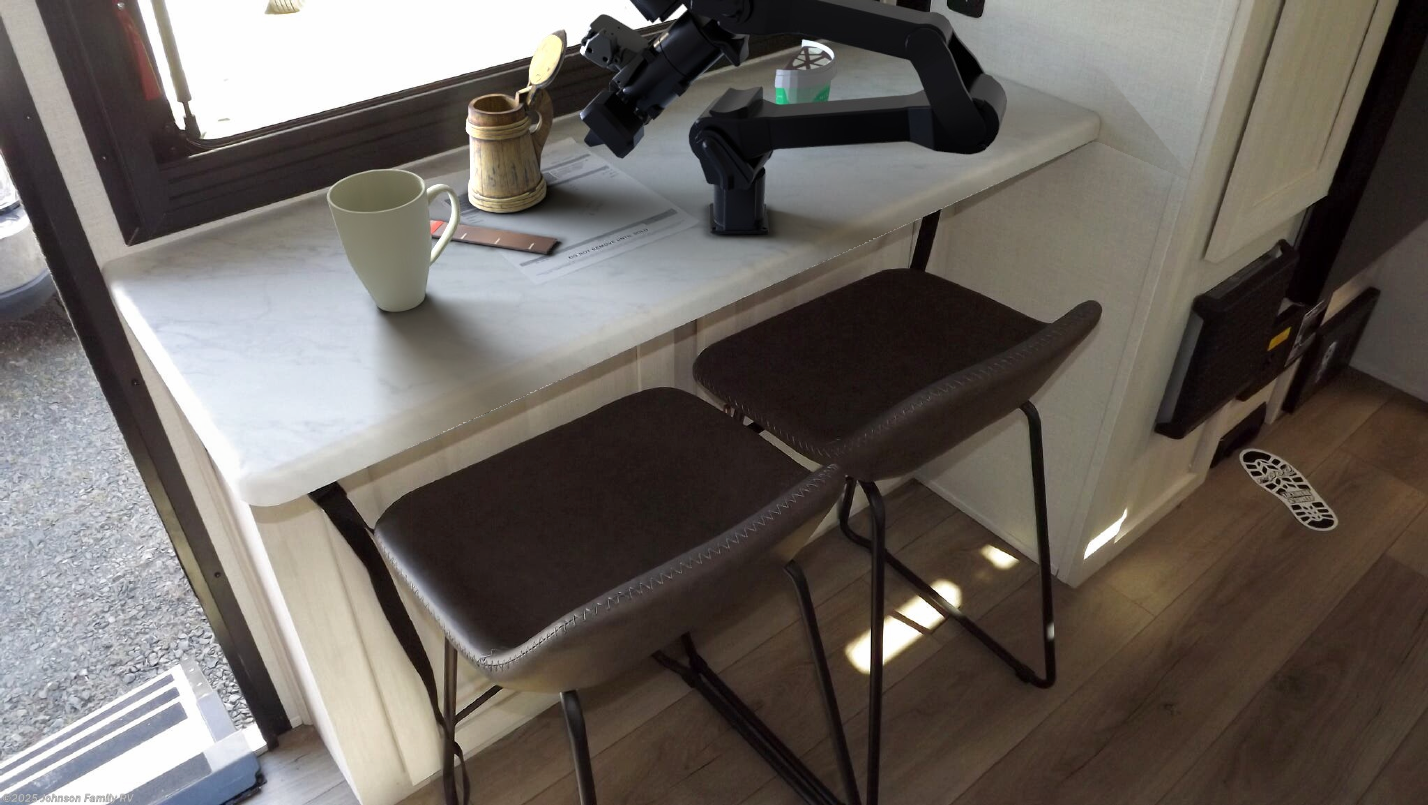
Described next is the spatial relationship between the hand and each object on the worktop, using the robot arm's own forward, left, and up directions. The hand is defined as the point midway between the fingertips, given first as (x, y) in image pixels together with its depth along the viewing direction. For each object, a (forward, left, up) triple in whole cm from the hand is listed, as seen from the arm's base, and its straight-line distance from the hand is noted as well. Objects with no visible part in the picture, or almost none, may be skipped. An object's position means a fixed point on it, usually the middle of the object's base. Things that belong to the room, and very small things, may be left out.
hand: (587, 142), depth 116 cm
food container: (+19, -27, -7) cm, 34 cm away
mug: (-20, +17, -7) cm, 27 cm away
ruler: (-8, +13, -7) cm, 17 cm away
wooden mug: (+2, +8, -7) cm, 11 cm away
